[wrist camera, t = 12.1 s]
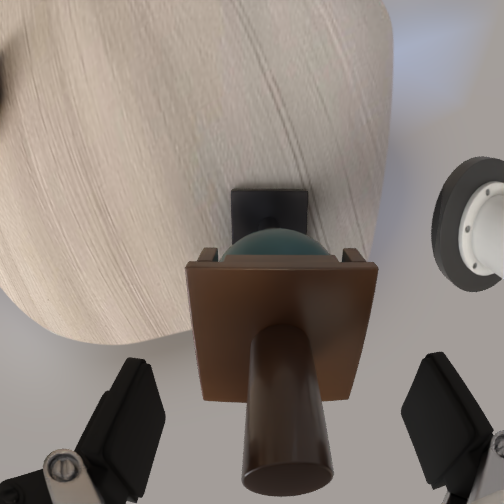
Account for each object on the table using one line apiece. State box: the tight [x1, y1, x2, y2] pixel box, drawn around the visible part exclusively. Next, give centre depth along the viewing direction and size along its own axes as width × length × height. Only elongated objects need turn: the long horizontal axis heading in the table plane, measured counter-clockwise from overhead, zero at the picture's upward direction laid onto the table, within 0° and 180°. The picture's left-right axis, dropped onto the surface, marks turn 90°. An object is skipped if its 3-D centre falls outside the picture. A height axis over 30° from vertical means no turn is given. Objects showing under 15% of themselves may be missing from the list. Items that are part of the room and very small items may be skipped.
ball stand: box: [219, 189, 330, 262], centre depth 21 cm, size 7×7×18 cm
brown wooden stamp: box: [185, 248, 378, 497], centre depth 10 cm, size 7×7×8 cm
